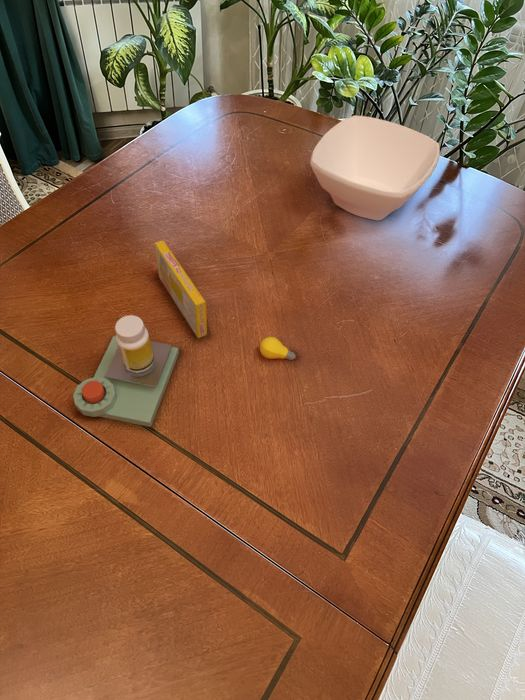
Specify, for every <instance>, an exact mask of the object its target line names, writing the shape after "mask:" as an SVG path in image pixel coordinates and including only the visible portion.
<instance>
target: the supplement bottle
mask: <svg viewBox="0 0 525 700" xmlns="http://www.w3.org/2000/svg"><path fill="white" fill-rule="evenodd" d="M114 330H115V336H116V343H117V346H118V349H119V352H120V355H121V359H122V362H123V365H124V367H125V368H126V369H127V370H129V371H131V372H135V373H139V372H144V371H146V370H148V369H149V368H150V367H151V366H152V364H153V362H154V354H153V350H152V345H151V341H152V340H151V338H150V334H149V331H148V329H147V327H146V326H145V324H144V322H143V319H142V318H141V317H139V316H138V315H133V314H128V315H125V316H122V317H121V318H119V319H118V320H117V321H116V323H115V327H114Z"/></svg>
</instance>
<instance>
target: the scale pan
mask: <svg viewBox="0 0 525 700" xmlns="http://www.w3.org/2000/svg"><path fill="white" fill-rule="evenodd" d="M150 341H151V345H152V350H153V354H154V362H153V364H152V366H151V367H150V368H149V369H148V370H146V371H144V372H139V373H135V372H131V371H129V370H127V369H126V368H125V367H124V365H123V362H122V359H121V355H120V352H119V349H117V351H116V354H115V356H114V358H113V360H112V362H111V364H110V366H109V369H108V371H107V373H106V375H105V378H109V379H114V380H119V381H124V382H130V383H135V384H140V385H145V386H150V387H155V388H156V386H157V384H158V381H159V379H160V376H161V374H162V371H163V369H164V366H165V364H166V361H167V359H168V356H169V353H170V351H171V348H172V347H173V344H169V343H164V342H159V341H155V340H154V341H153V340H150Z"/></svg>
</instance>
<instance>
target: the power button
mask: <svg viewBox="0 0 525 700" xmlns="http://www.w3.org/2000/svg"><path fill="white" fill-rule="evenodd" d="M82 394H83V396H84V398H85V400H86V401H87V402H88V403H98V402H100V401H101V400H102V399H103V398H104V396H105V391H104V389H103V386H102V384H101V383H100V382H98V381H90V382H88V383H86V384H85V385H84V386H83V388H82Z"/></svg>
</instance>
